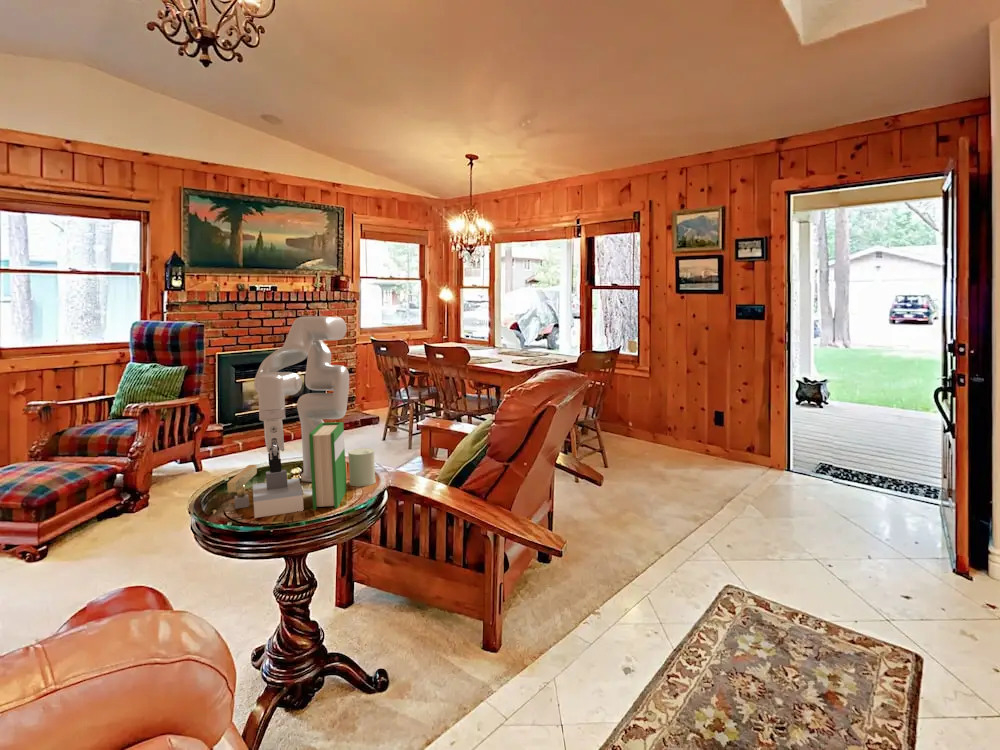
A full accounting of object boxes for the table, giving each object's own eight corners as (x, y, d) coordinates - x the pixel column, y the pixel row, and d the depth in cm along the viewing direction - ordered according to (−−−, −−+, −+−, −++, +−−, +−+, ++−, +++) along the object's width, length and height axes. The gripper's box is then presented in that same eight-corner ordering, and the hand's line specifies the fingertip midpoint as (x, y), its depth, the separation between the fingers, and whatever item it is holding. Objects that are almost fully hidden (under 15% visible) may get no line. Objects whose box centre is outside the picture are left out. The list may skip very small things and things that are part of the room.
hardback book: (337, 508, 176) (333, 433, 174) (313, 509, 176) (309, 434, 173) (346, 490, 194) (343, 422, 191) (324, 491, 193) (320, 422, 190)
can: (362, 488, 196) (361, 454, 195) (343, 484, 201) (342, 451, 200) (381, 481, 204) (379, 448, 203) (362, 477, 209) (361, 445, 208)
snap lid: (299, 482, 187) (297, 463, 186) (302, 495, 174) (301, 474, 173) (253, 488, 181) (251, 469, 180) (253, 501, 168) (252, 480, 168)
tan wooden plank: (250, 484, 192) (249, 464, 191) (257, 483, 192) (256, 464, 191) (228, 504, 172) (227, 482, 171) (237, 503, 172) (235, 482, 171)
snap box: (299, 495, 189) (298, 481, 188) (303, 510, 175) (302, 495, 174) (235, 504, 181) (234, 489, 180) (234, 521, 167) (233, 504, 166)
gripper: (287, 417, 168) (289, 473, 170) (283, 409, 184) (286, 461, 185) (259, 419, 165) (262, 476, 167) (258, 411, 181) (261, 463, 182)
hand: (275, 468), depth 176 cm, fingers open, 9 cm apart
